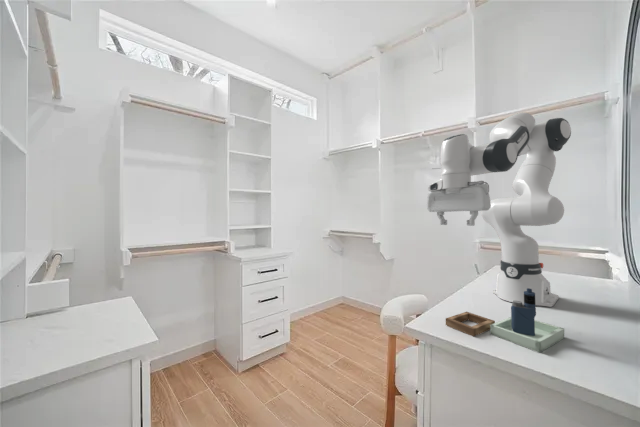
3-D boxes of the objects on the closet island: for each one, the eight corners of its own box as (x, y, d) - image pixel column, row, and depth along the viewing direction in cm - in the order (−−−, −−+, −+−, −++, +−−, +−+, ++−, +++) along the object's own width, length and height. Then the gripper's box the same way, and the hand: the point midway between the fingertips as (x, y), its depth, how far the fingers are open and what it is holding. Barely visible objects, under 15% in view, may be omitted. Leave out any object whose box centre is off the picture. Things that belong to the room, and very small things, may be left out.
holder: (466, 317, 80) (466, 311, 80) (494, 327, 73) (494, 320, 73) (445, 325, 75) (445, 318, 75) (473, 336, 68) (473, 329, 68)
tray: (516, 323, 76) (516, 314, 76) (564, 338, 66) (564, 328, 66) (490, 334, 69) (490, 325, 69) (539, 352, 59) (539, 342, 59)
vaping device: (537, 337, 66) (536, 290, 66) (512, 332, 68) (511, 288, 69) (535, 333, 68) (534, 288, 68) (511, 328, 71) (510, 285, 71)
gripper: (494, 180, 77) (495, 225, 77) (435, 187, 95) (436, 224, 95) (482, 179, 74) (483, 226, 74) (424, 186, 92) (424, 224, 92)
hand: (456, 225), depth 84 cm, fingers open, 8 cm apart
